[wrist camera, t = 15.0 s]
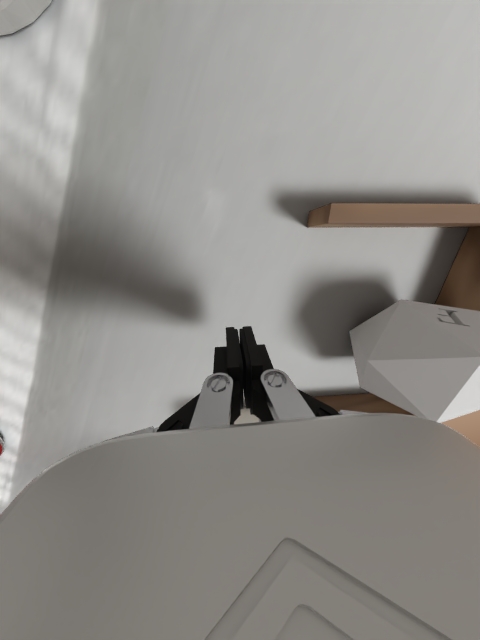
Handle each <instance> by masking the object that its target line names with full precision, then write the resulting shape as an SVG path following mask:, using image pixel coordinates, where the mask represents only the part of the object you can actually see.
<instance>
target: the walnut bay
mask: <svg viewBox="0 0 480 640" xmlns="http://www.w3.org/2000/svg"><path fill="white" fill-rule="evenodd" d="M307 227H469V229H468V232H467V234H466V236H465V238H464V241H463V243H462V245H461V247H460V250H459V252H458V254H457V256H456V258H455V261H454V263H453V265H452V267H451V270H450V272H449V274H448V276H447V279H446V281H445V283H444V285H443V287H442V290H441V292H440V294H439V296H438V299H437V301H436V303H435V305H442V306H449V307H455V308H462V309H469V310H475V311H480V204H404V203H331V204H328V205H325V206H323V207H320V208H317V209H315V210H312V211H310V212H309V217H308V225H307ZM314 398H316V399H317V400H319V401H321V402H323V403H325V404H327V405H329V406H331V407H332V408H334V409H335V410H336V411H337V412H340V410H349V411H357V412H365V413H397V414H405V415H412V416H416V415H414V414H412V413H410V412H408V411H406V410H404V409H402V408H400V407H398V406H396V405H394V404H392V403H390V402H388V401H386V400H384V399H382V398H380V397H378V396H376V395H374V394H372V393H367V394H351V395H334V396H317V397H314ZM417 417H418V416H417Z"/></svg>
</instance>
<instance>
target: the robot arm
mask: <svg viewBox="0 0 480 640" xmlns="http://www.w3.org/2000/svg"><path fill="white" fill-rule="evenodd" d="M51 2H52V0H0V35H6V34H12V33H14V32H16V31H18V30H20V29H22V28H23V27H25V26H27V25H29V24H31V23H33V22H34V21H35V20H36V19H37V18H38V17H39V15H40V14H41V13H42V12H43V11H44V10H45V9H46V8H47V7H48V6H49V5H50V4H51ZM226 341H227V347H215V355H214V370H213V374H212V375H210V376H208V377H207V378H206V379H205V381H204V384H203V387H202V390H201V393H200V394H199V395H197V396H196V397H195V398H193V399H192V400H191V401H190V402H188V403H187V404H186V405H184V406H183V407H182V408H181V409H179V410H178V411H177V412H176V413H174V414H173V415H172V416H170V417H169V418H168V419H167V420H165V421H164V422H163V423H162V424H161V425H160V427H158V428H155V429H154V427H153V426H152V427H149V428H146V429H142V430H139V431H136V432H132V433H129V434H125V435H122V436H119V437H115V438H112V439H109V440H106V441H103V442H101V443H98V444H95V445H92V446H89V447H87V448H84V449H82V450H80V451H77V452H75V453H73V454H71V455H69V456H67V457H65V458H63V459H61V460H59V461H57V462H56V463H54V464H52V465H51V466H50V467H48V468H47V469H45V470H44V471H43V472H41V473H40V474H39V475H38V476H37V477H36V478H34V479H33V480H32V481H31V482H30V483H29V484H28V485H27V486H26V487H25V488H24V489H23V490H22V491H21V492H20V493H19V494H18V496H17V497H16V498H15V499H14V500H13V501H12V502H11V503H10V504H9V506H8V507H7V508H6V509H5V510H4V511H3V512H2V514H1V515H0V640H480V447H479V446H478V445H476V444H475V443H474V442H472V441H471V440H469V439H468V438H466V437H465V436H463V435H462V434H460V433H459V432H457V431H456V430H454V429H452V428H450V427H448V426H446V425H443V424H441V423H438V422H435V421H432V420H429V419H425V418H421V417H417V416H412V415H405V414H397V413H365V412H357V411H349V410H340V412H337V411H336V410H335V409H334V408H332V407H331V406H329V405H327V404H325V403H323V402H321V401H319V400H317V399H316V398H314V397H312V396H310V395H308V394H306V393H304V392H302V391H300V390H298V389H297V388H296V387H295V385H294V384H293V382H292V381H291V379H290V378H289V377H288V375H287V374H286V373H284V372H283V371H280V370H277V369H274V368H273V366H272V363H271V360H270V358H269V355H268V353H267V350H266V347H265V345H264V344H263V345H257V344H256V341H255V338H254V334H253V331H252V328H251V326H247V327H243V329H240V343H239V337H238V330H237V329H234V327H227V328H226ZM243 389H244V397H245V404H246V409H249V408H250V414H251V415H255V416H256V417H257V418H259V419H258V420H259V422H255V423H244V424H234V422H235V421H236V420H237V418H238V417H239V416H240V415H241V409H243Z"/></svg>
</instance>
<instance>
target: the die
mask: <svg viewBox="0 0 480 640" xmlns="http://www.w3.org/2000/svg"><path fill="white" fill-rule="evenodd" d="M349 333H350V338H351V343H352V349H353V354H354V359H355V364H356V369H357V374H358V380H359V385H360V388H362V389H364V390H366V391H368V392H370V393H372V394H374V395H376V396H378V397H380V398H382V399H384V400H386V401H388V402H390V403H392V404H394V405H396V406H398V407H400V408H402V409H404V410H406V411H408V412H410V413H412V414H414V415H416V416H418V417H421V418H425V419H429V420H432V421H435V422H438V423H441V422H444V421H447V420H450V419H453V418H456V417H459V416H462V415H465V414H468V413H471V412H474V411H478V410H480V311H475V310H469V309H462V308H455V307H449V306H442V305H435V304H429V303H422V302H415V301H409V300H402V299H401V300H399V301H398V302H396V303H395V304H393V305H391V306H390V307H388V308H386V309H385V310H383V311H381V312H380V313H378V314H377V315H375V316H373V317H372V318H370V319H368V320H367V321H365V322H364V323H362V324H360V325H359V326H357V327H355V328H354V329H352V330H350V331H349Z"/></svg>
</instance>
